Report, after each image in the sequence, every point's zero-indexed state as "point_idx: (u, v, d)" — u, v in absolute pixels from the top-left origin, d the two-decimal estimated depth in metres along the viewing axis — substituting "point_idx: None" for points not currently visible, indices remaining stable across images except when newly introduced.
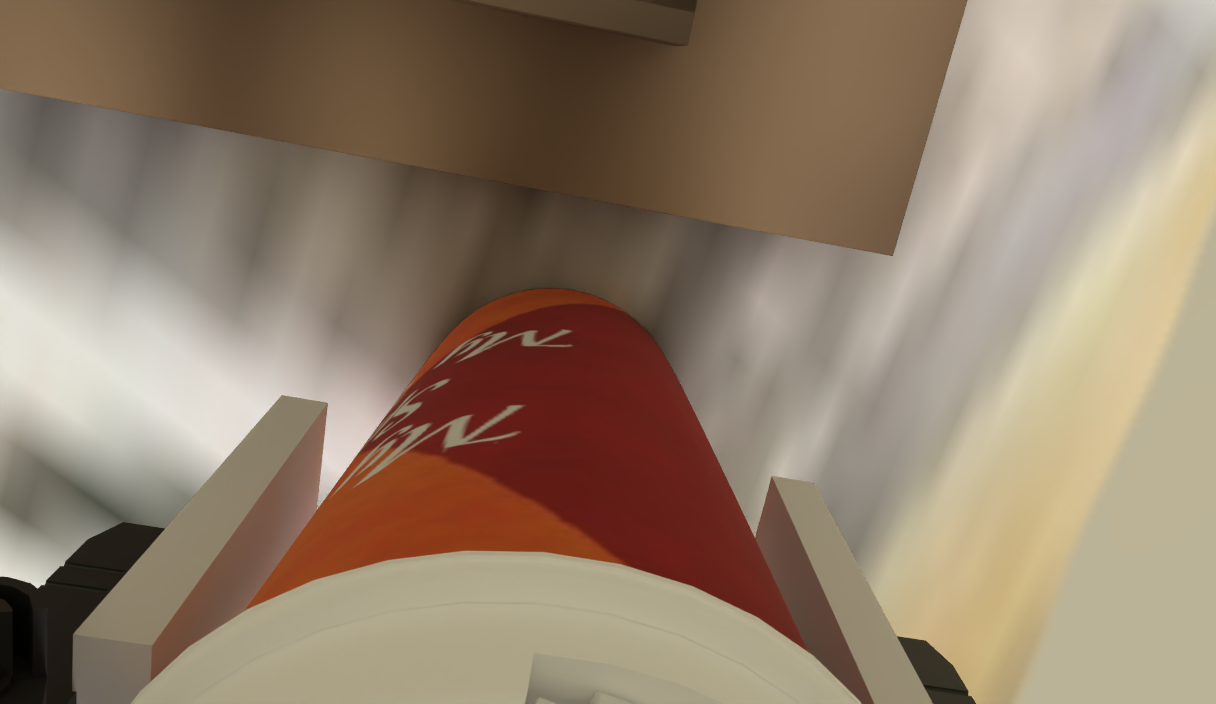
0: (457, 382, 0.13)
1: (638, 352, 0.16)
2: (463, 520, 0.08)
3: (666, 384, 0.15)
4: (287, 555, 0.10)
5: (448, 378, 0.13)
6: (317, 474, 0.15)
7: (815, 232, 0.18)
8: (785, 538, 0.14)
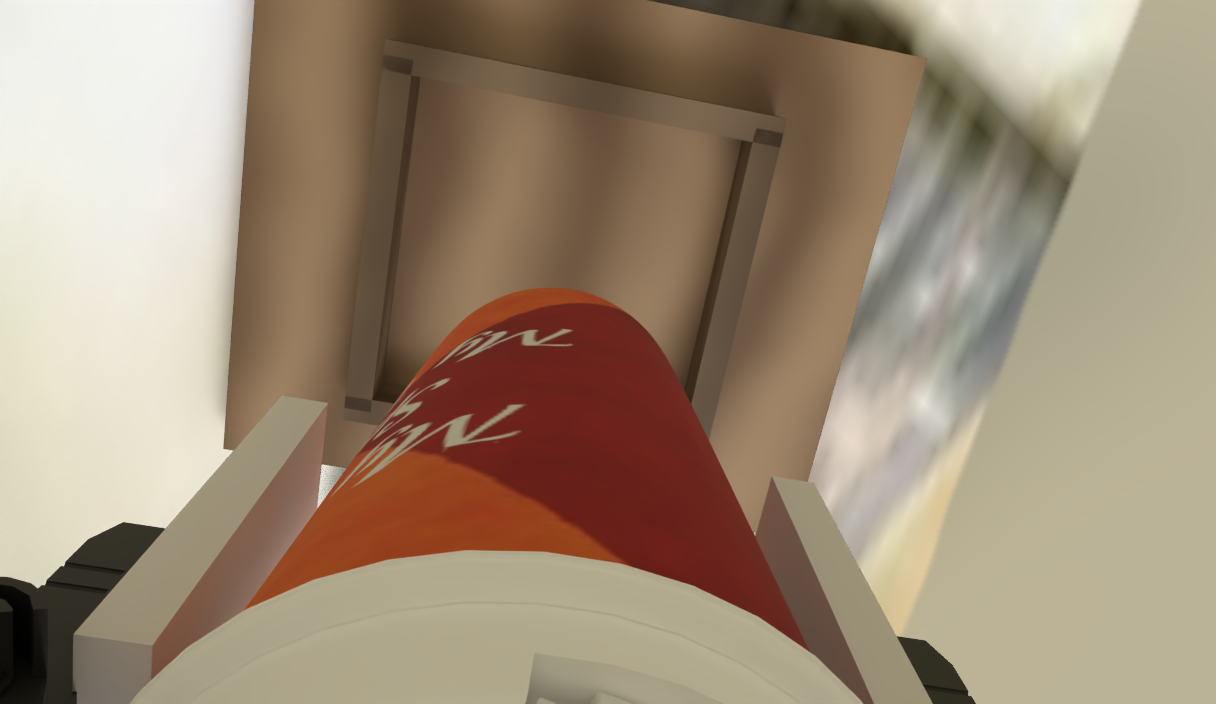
0: (457, 381, 0.13)
1: (639, 352, 0.16)
2: (465, 520, 0.08)
3: (667, 384, 0.15)
4: (287, 555, 0.10)
5: (448, 377, 0.13)
6: (317, 474, 0.15)
7: (756, 529, 0.39)
8: (784, 538, 0.14)
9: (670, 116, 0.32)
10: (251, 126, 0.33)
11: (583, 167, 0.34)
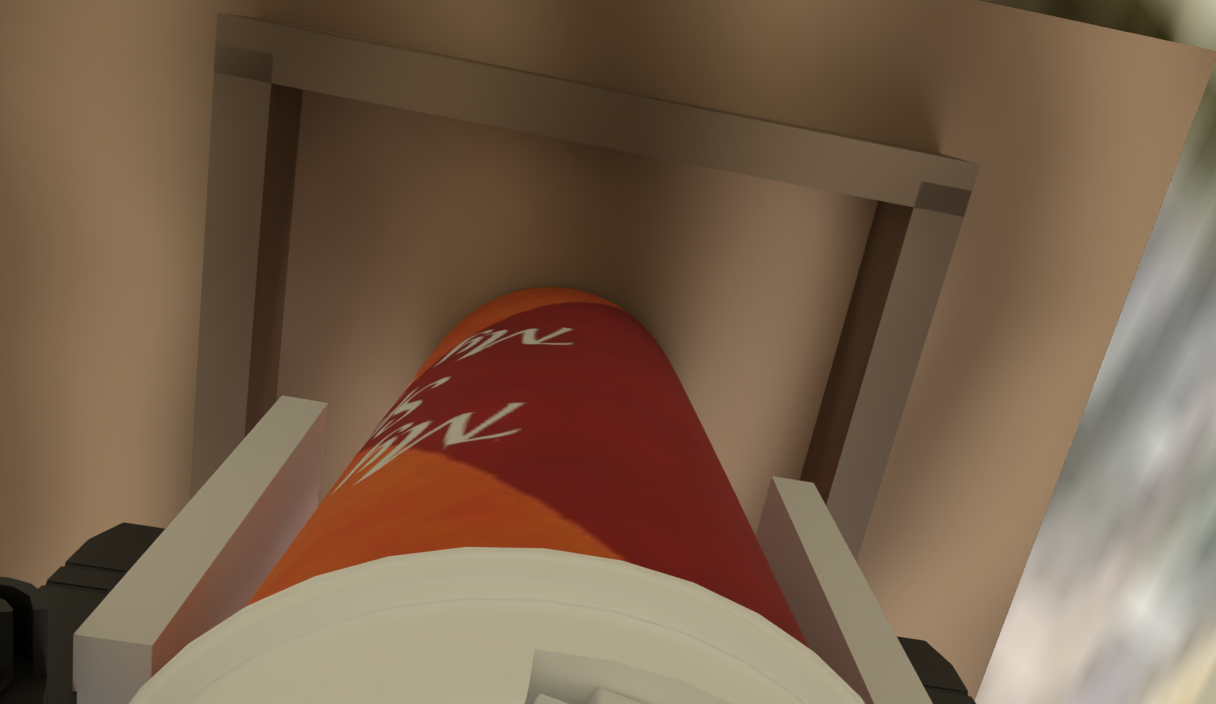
0: (457, 380, 0.13)
1: (638, 350, 0.16)
2: (464, 516, 0.08)
3: (667, 382, 0.15)
4: (287, 552, 0.10)
5: (448, 376, 0.13)
6: (317, 474, 0.15)
7: None
8: (784, 539, 0.14)
9: (762, 160, 0.17)
10: (2, 173, 0.19)
11: (597, 244, 0.19)
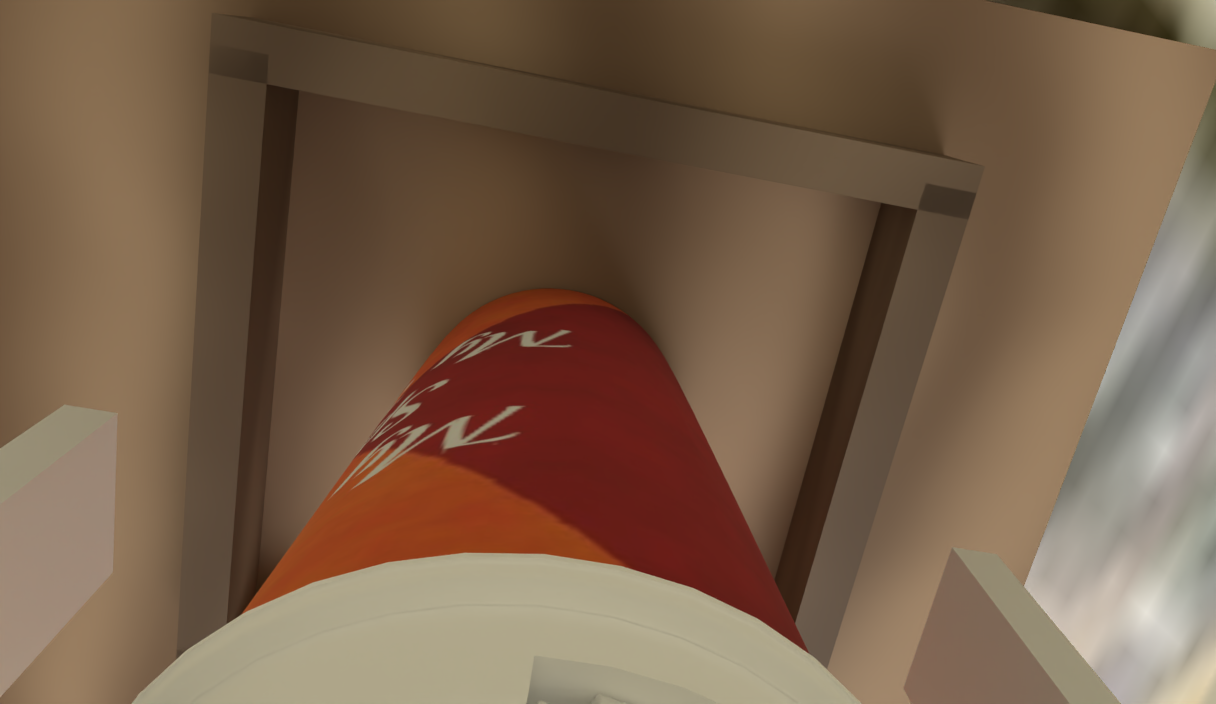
0: (456, 383, 0.13)
1: (637, 352, 0.16)
2: (463, 522, 0.08)
3: (665, 384, 0.15)
4: (286, 557, 0.10)
5: (447, 379, 0.13)
6: (108, 493, 0.14)
7: None
8: (984, 622, 0.13)
9: (764, 162, 0.17)
10: None
11: (597, 247, 0.19)
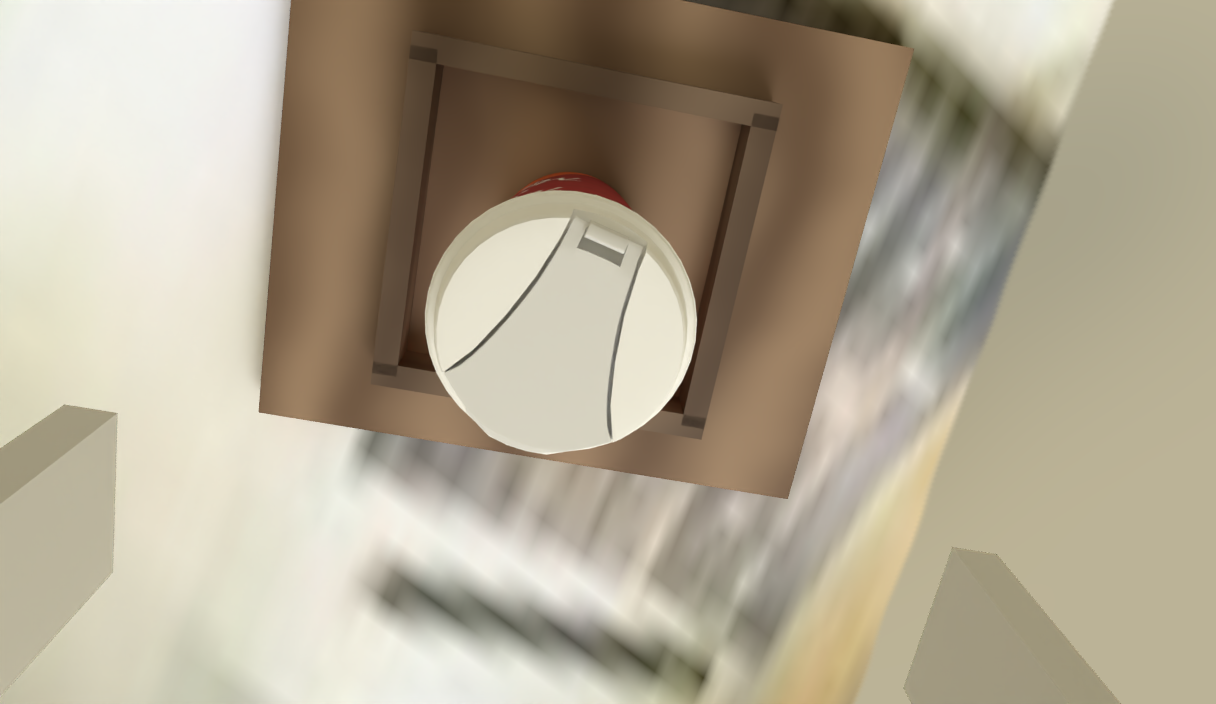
0: (532, 188, 0.31)
1: (612, 191, 0.34)
2: None
3: (624, 201, 0.33)
4: None
5: (527, 189, 0.31)
6: (108, 494, 0.14)
7: (754, 490, 0.42)
8: (984, 622, 0.13)
9: (674, 102, 0.34)
10: (287, 111, 0.36)
11: (594, 150, 0.37)
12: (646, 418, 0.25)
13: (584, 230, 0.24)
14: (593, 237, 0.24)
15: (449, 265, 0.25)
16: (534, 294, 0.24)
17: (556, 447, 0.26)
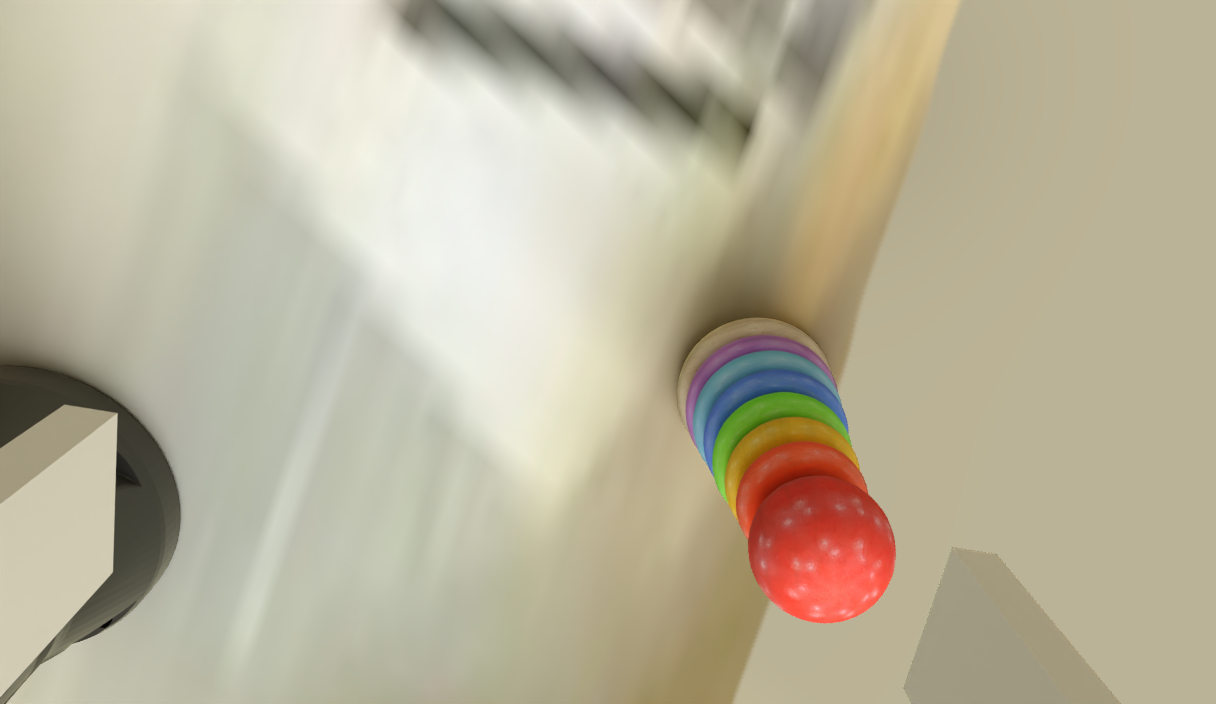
0: None
1: None
2: None
3: None
4: None
5: None
6: (108, 493, 0.14)
7: None
8: (984, 622, 0.13)
9: None
10: None
11: None
12: None
13: None
14: None
15: None
16: None
17: None
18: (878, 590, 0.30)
